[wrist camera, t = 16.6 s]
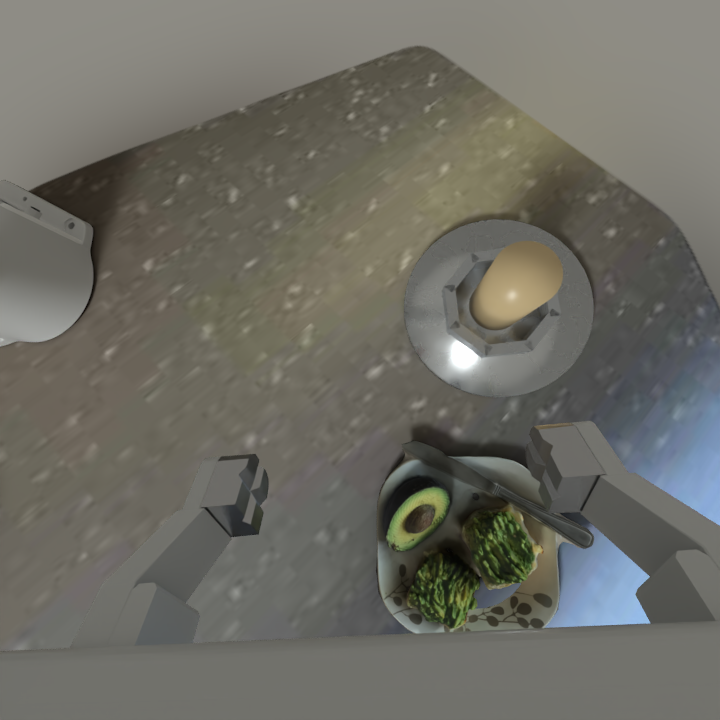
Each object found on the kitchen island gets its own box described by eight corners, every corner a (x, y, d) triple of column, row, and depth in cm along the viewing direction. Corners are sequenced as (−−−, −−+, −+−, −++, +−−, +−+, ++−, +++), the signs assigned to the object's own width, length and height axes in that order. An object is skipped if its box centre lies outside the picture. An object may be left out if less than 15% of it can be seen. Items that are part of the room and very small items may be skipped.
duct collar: (369, 323, 37) (366, 317, 34) (475, 192, 37) (482, 174, 34) (511, 434, 34) (522, 438, 31) (627, 291, 34) (649, 281, 31)
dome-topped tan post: (458, 310, 34) (477, 280, 26) (489, 271, 34) (519, 228, 26) (500, 340, 34) (534, 320, 25) (532, 300, 34) (577, 266, 25)
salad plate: (579, 443, 33) (607, 450, 28) (589, 643, 31) (621, 686, 27) (378, 437, 36) (374, 443, 31) (376, 622, 34) (372, 658, 29)
